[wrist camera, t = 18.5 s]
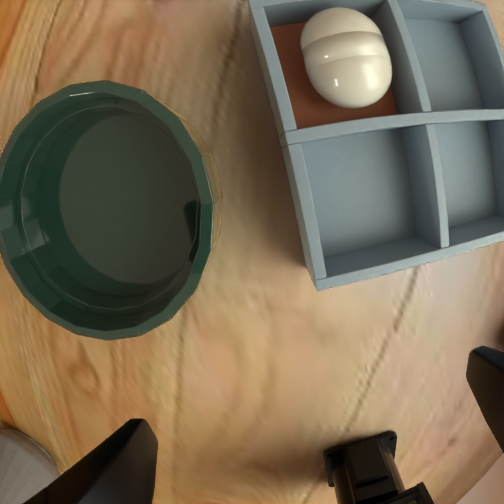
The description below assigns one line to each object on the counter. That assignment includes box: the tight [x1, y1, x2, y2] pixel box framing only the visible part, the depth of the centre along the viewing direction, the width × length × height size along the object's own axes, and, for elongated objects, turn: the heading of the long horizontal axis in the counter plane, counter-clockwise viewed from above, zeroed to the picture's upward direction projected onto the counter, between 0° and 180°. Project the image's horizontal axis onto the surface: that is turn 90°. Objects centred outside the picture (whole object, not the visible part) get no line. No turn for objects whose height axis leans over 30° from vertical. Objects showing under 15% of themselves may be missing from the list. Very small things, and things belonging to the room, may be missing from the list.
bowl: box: [0, 80, 222, 340], centre depth 16 cm, size 13×13×4 cm
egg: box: [300, 7, 392, 109], centre depth 13 cm, size 5×4×4 cm
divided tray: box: [248, 0, 504, 291], centre depth 15 cm, size 15×15×3 cm
